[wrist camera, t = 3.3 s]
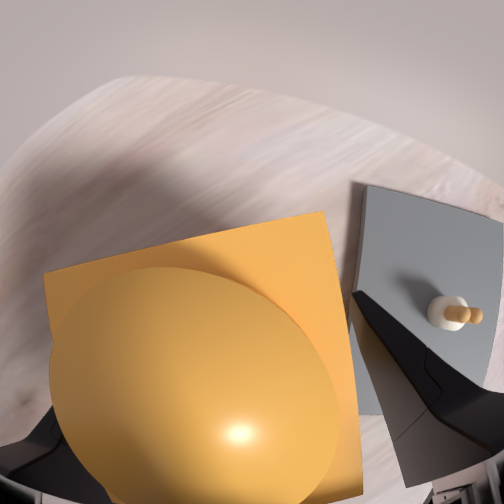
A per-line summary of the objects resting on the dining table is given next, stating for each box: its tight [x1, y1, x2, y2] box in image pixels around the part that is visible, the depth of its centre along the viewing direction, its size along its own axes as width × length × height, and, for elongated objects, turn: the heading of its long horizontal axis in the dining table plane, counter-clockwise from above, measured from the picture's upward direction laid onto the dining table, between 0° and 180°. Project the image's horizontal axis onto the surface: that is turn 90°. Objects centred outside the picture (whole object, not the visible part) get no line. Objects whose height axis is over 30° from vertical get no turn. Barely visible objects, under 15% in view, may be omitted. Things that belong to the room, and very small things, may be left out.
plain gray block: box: [347, 185, 504, 415], centre depth 14 cm, size 14×12×5 cm
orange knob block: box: [43, 211, 363, 504], centre depth 10 cm, size 6×6×14 cm
